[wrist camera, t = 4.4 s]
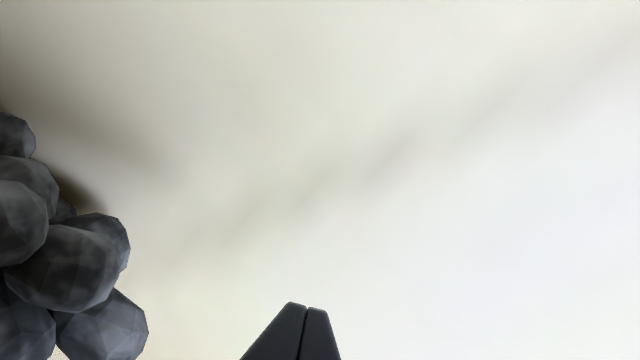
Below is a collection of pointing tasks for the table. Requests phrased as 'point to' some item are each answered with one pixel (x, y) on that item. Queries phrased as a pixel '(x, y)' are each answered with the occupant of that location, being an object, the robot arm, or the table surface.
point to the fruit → (58, 266)
